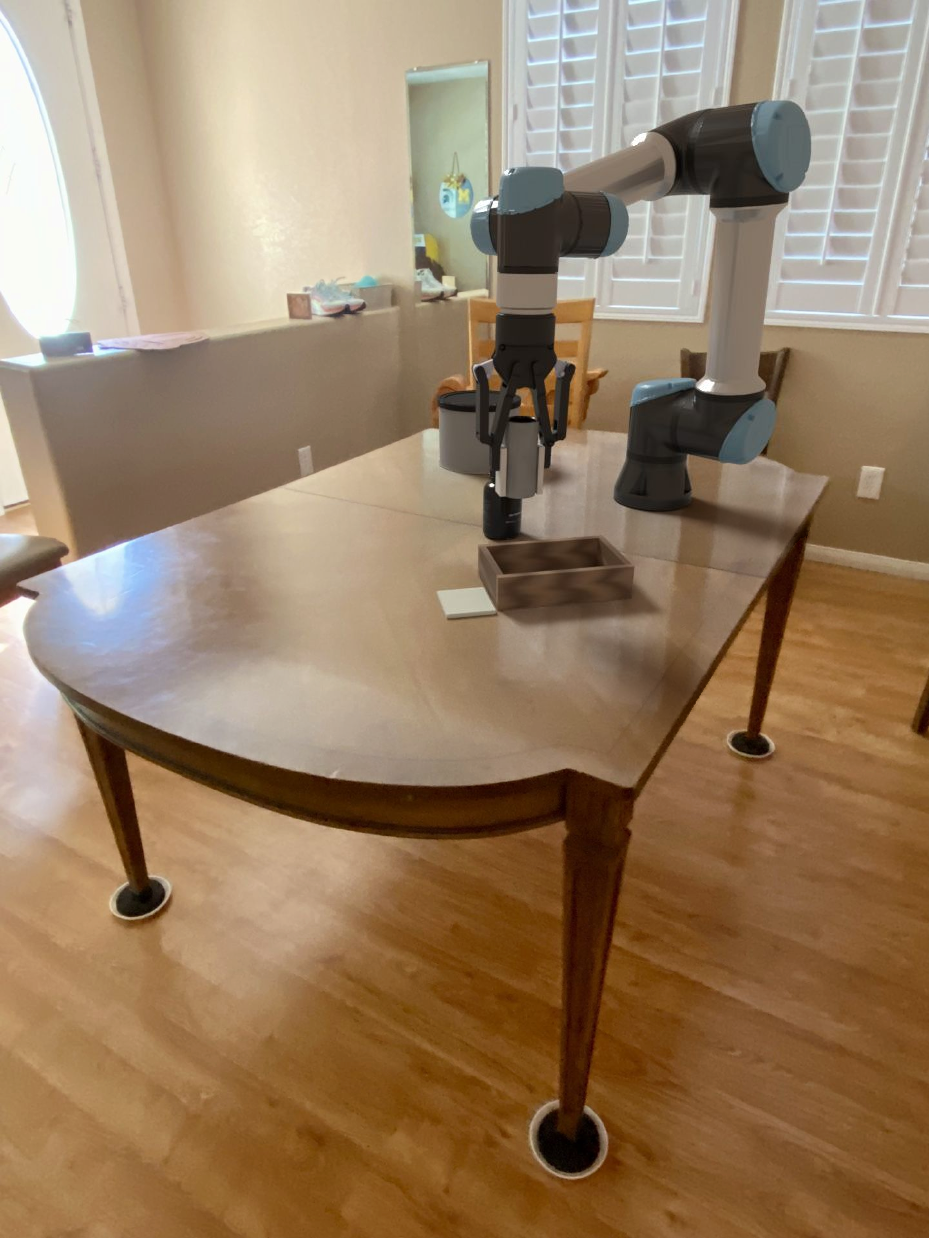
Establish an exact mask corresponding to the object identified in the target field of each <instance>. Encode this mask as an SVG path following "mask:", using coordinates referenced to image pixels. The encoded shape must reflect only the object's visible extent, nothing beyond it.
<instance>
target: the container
mask: <svg viewBox="0 0 929 1238" xmlns="http://www.w3.org/2000/svg"><path fill="white" fill-rule="evenodd" d="M499 395H500V390H494V389H493V390H491V389H489V434H490V432H491V428H492V424H493V420H494V416H495V412H496V407H497V403H498V399H499ZM436 405H437V407H438V432H439V433H438V436H439V437H438V438H439V443H438V444H439V447H438V448H439V460H438V464H439V466H440V467H441V468H443V469H444V470H447V471H449V472H454V473H460V474H468V475H469V474H470V475H487V474H489V473H490V466H489V445H487V444H482V443H481V442H480V441H479V440H478V439H477V438H476V389H467V390H457V391H450V392H447V393H446V392H445V393H443V394H440V395H439V396H437V397H436ZM521 405H522V398H521V396H520V395H518V394H517V393H516V394H515V397H514V398H513V402H512V406H511V409H510V413H509V417H510V416H520V407H521ZM502 445H504V437H503V441H502Z"/></svg>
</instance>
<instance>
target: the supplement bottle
mask: <svg viewBox="0 0 929 1238" xmlns="http://www.w3.org/2000/svg"><path fill="white" fill-rule="evenodd" d="M488 477H489V479H490V480H488V481H487V482H486V483H485V484H484V486H483V492H482V494H483V495H482V499H483V500H482V534H483V535H484V536H485V537H487V538H490V539H494V540H503V541H504V540H512V539H516V538H517V537H519V536H520V534H521V533H522V530H521V529H522V516H523V515H522V514H523V513H522V512H523V499H515V498H509V497H506V496H502V497H500V496H499V495H498V493H497V492H496V491H495V485H496V471H492V470H491V469H490V474H489V475H488Z"/></svg>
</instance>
